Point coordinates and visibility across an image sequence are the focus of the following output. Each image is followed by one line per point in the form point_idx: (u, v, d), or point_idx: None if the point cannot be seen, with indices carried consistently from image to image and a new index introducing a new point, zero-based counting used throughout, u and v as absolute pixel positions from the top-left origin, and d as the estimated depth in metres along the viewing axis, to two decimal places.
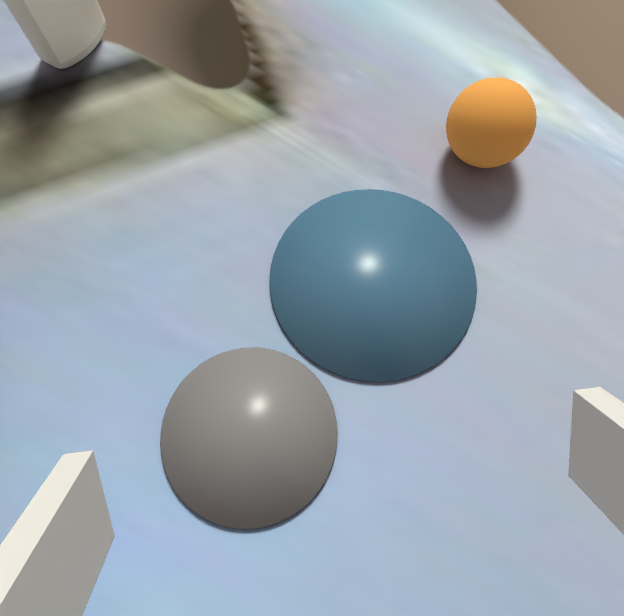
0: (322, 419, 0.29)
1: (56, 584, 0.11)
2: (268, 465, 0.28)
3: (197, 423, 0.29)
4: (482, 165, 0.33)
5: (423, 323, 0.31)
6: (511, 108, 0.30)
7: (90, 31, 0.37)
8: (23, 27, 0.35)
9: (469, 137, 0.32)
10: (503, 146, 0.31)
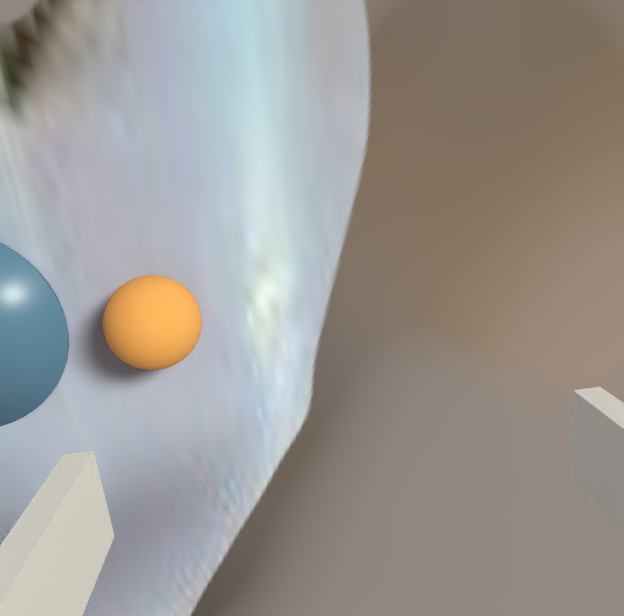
0: None
1: (56, 584, 0.11)
2: None
3: None
4: None
5: None
6: (135, 352, 0.28)
7: None
8: None
9: (103, 328, 0.29)
10: None
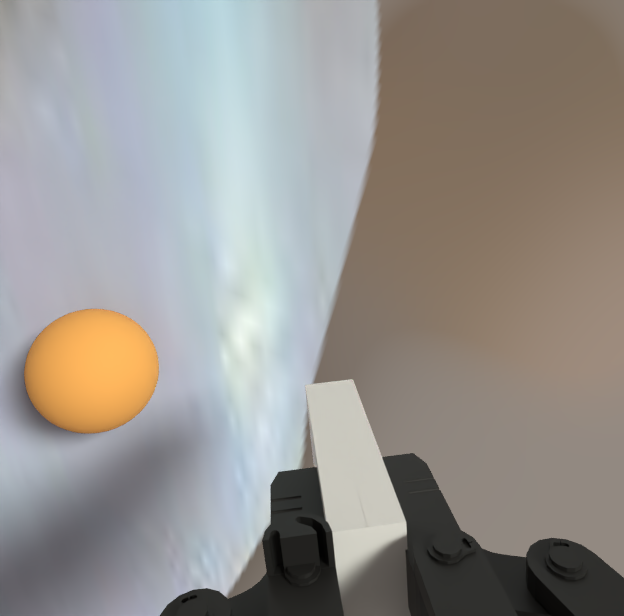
0: None
1: None
2: None
3: None
4: None
5: None
6: (63, 415, 0.21)
7: None
8: None
9: None
10: None
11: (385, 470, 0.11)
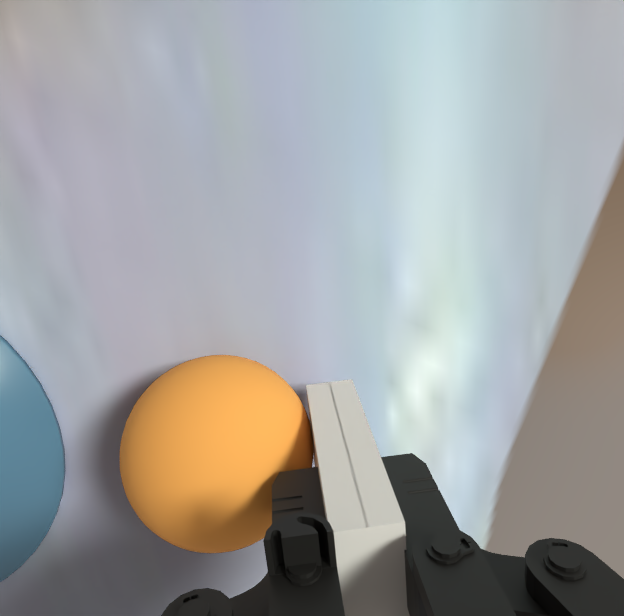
0: None
1: None
2: None
3: None
4: None
5: None
6: (184, 536, 0.13)
7: None
8: None
9: None
10: None
11: (384, 470, 0.11)
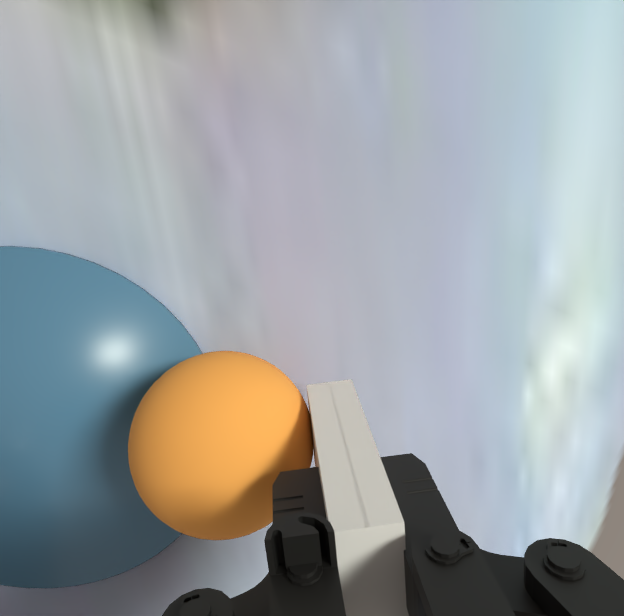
0: None
1: None
2: None
3: None
4: None
5: (46, 536, 0.19)
6: (154, 512, 0.14)
7: None
8: None
9: None
10: None
11: (383, 470, 0.11)
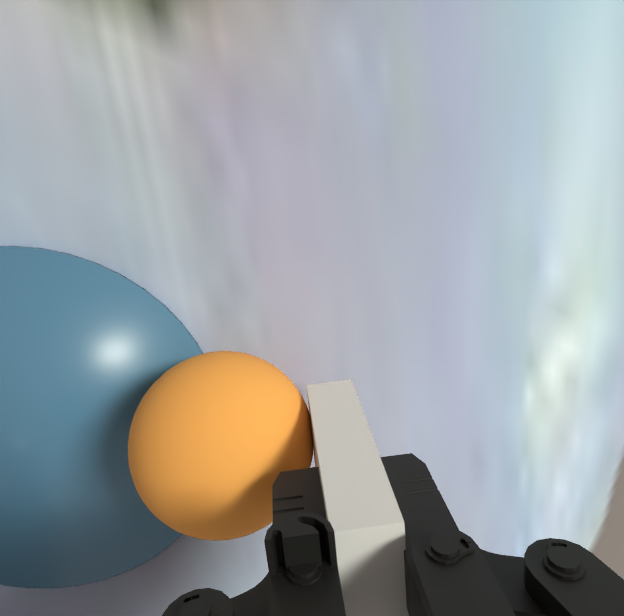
0: None
1: None
2: None
3: None
4: None
5: (47, 536, 0.19)
6: (154, 512, 0.14)
7: None
8: None
9: None
10: None
11: (383, 470, 0.11)
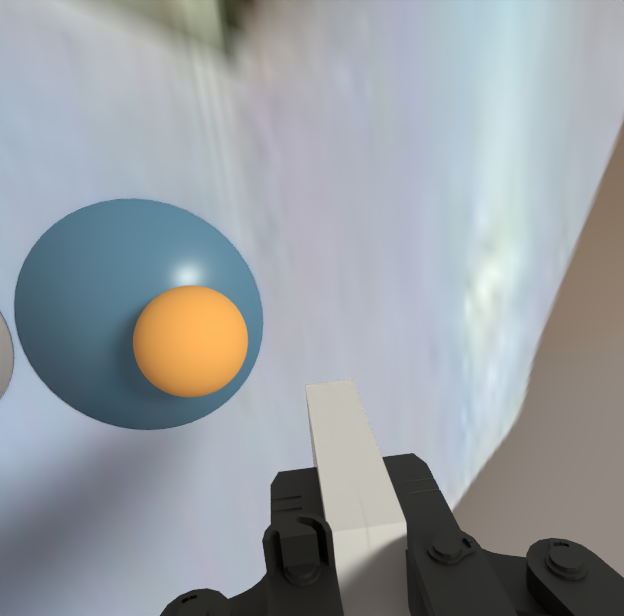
0: None
1: None
2: None
3: None
4: None
5: (146, 392, 0.29)
6: None
7: None
8: None
9: None
10: None
11: (385, 470, 0.11)
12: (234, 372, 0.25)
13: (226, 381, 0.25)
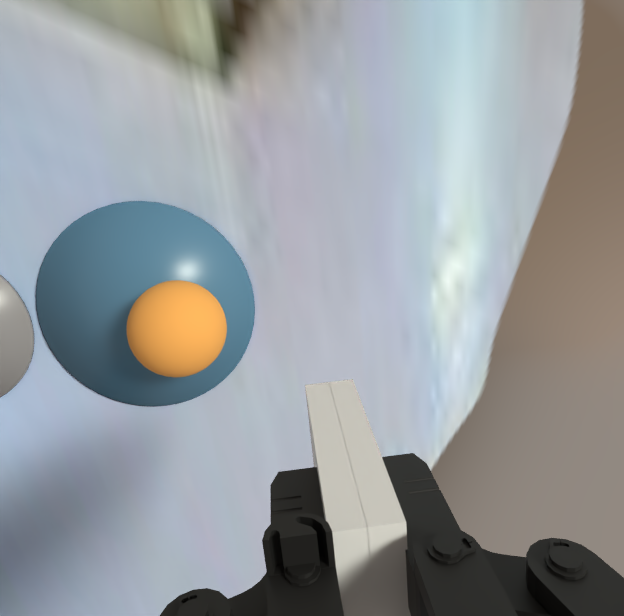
0: (11, 369, 0.32)
1: None
2: None
3: None
4: None
5: (151, 372, 0.32)
6: None
7: None
8: None
9: None
10: None
11: (385, 470, 0.11)
12: (205, 361, 0.28)
13: (198, 367, 0.28)
